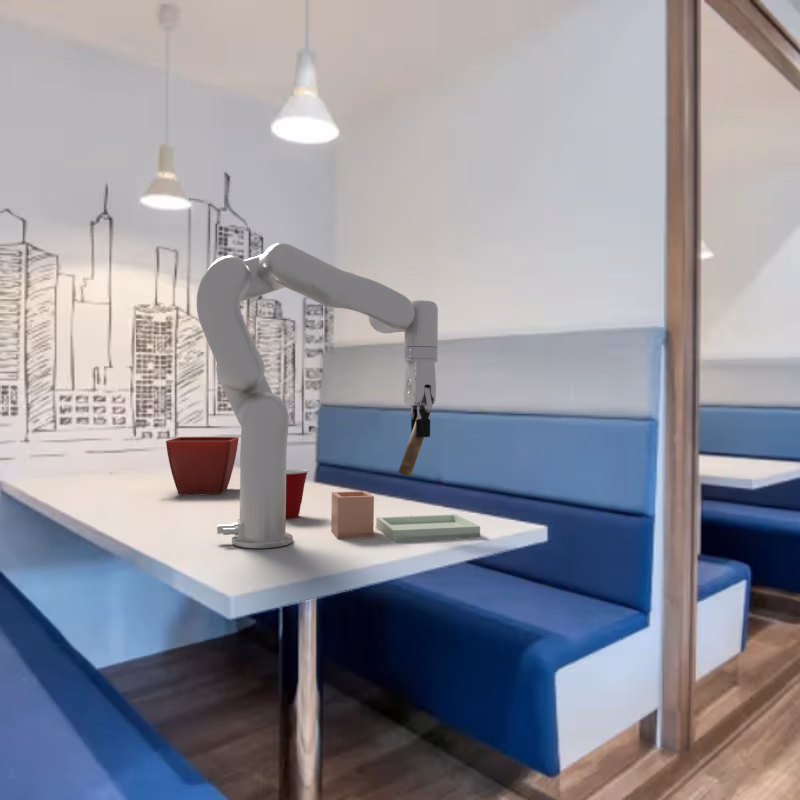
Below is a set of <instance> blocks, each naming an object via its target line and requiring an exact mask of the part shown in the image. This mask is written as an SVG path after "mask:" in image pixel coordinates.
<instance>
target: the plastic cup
mask: <svg viewBox="0 0 800 800" xmlns="http://www.w3.org/2000/svg"><path fill="white" fill-rule="evenodd" d="M309 471H310V470H309V469H286V520H287V519H296V518H299V515H300V512H301V505H302V502H303V496H304V489H305V483H306V479H307V476H308V472H309Z"/></svg>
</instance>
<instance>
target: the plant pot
mask: <svg viewBox="0 0 800 800" xmlns="http://www.w3.org/2000/svg"><path fill="white" fill-rule="evenodd" d="M165 443H166V444H165V446H166V451H167V458H168V459H167V460H168V462H169V467H170V472H171V475H172V478H173V482H174V485H175V488H176V492H177V493H178V494H179V495H222V494H223V493H224V492H225V491H226V490H227V489H228V487H229V484H230V481H231V477H232V474H233V470H234V467H235V462H236V457H237V451H238V445H239V437H238V436H237V437H236V436H179V437H175V438H170V439H167V440H165Z"/></svg>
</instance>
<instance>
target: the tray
mask: <svg viewBox="0 0 800 800" xmlns="http://www.w3.org/2000/svg"><path fill="white" fill-rule="evenodd" d="M375 522H376V529H377V530H378V531H379V532H381V534H383V535H384V536H385V537H386V538H387V539H388V540H389V541H391V542H392V543H401V542H421V541H441V540H443V539H444V540H457V539H456V538H464V539H470V538H469V537H480V538H481V526H480V525H478V524H476V523H474V522H472V521H470V520H469V519H466V518H464V517H463V516H460V515H458V514H455V513H454V514H453V513H451V514H450V513H449V514H428V515H427V514H426V515H408V516H407V515H403V516H381V517H379V516H377V517H376V521H375Z"/></svg>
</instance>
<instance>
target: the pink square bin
mask: <svg viewBox="0 0 800 800" xmlns="http://www.w3.org/2000/svg"><path fill="white" fill-rule="evenodd" d="M374 505H375V496H374V495H372V494H371V493H369V492H368V491H366V490H361V491H360V490H358V491H332V492H331V523H330V524H331V526H330V528H331V529H330V531H331V533H332V534H333V536H335V538H336V539H338V540H339V539H340V540H341V539H343V540H344V539H360V538H366V539H367V538H374V527H375V526H374V523H375V522H374V521H375V520H374V514H375V513H374V510H375V509H374V507H375V506H374Z"/></svg>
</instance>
